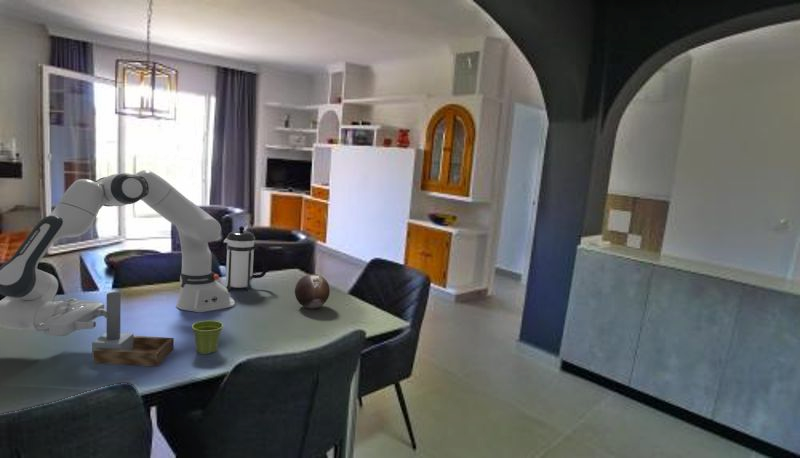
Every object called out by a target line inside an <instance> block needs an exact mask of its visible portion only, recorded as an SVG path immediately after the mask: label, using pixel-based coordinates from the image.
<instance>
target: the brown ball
mask: <svg viewBox="0 0 800 458" xmlns="http://www.w3.org/2000/svg"><path fill="white" fill-rule="evenodd" d="M294 294H295V295H294V296H295V299H296V300H297V302H298V304H300V305H301V306H302V307H304V308H307V309H317V308H320V307H321V306H323V305H325V303H326V302H327V301H328V299H329V297H330V294H331V293H330V285H329V283H328V281H327V280H326V278H324V277H323V276H322V275H319V274H317V273H309V274H306V275H303V276H302V277H301V278H300V279H299V280H298V281H297V283H296V284H295V288H294Z"/></svg>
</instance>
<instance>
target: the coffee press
mask: <svg viewBox="0 0 800 458" xmlns="http://www.w3.org/2000/svg"><path fill="white" fill-rule="evenodd" d="M238 229H239V230H234V231H233V230H232V231H231V232H229V233H228V235H227V236H226V238H225V239H224V240H223V243H224V244H225V243H226V271H225V276H226V277H225V283H226V288H227V290H230V291H231V289H233V288H235V289H237V288H239V289H240V288H241V289H242V288H245V289H246V290H247V291H248V290H250V291H252V287H251V285H252V284H253V279H260V278H263V277H265V276H266V274H267V270H268V260H269V259H268V258H269V257H268V255H269V254H268V250H267V248H266V247H264V246H263V245H259V244H258V245H255V241H256V237H255V235H254V233H252V232H251V231H247V230H245V227H244V226H243V225H242V226H239V227H238ZM255 250H261V251H262V252H263V268H262V269H263V270H262V271H261V273H258V274H254V255H255V254H254V252H255Z"/></svg>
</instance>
